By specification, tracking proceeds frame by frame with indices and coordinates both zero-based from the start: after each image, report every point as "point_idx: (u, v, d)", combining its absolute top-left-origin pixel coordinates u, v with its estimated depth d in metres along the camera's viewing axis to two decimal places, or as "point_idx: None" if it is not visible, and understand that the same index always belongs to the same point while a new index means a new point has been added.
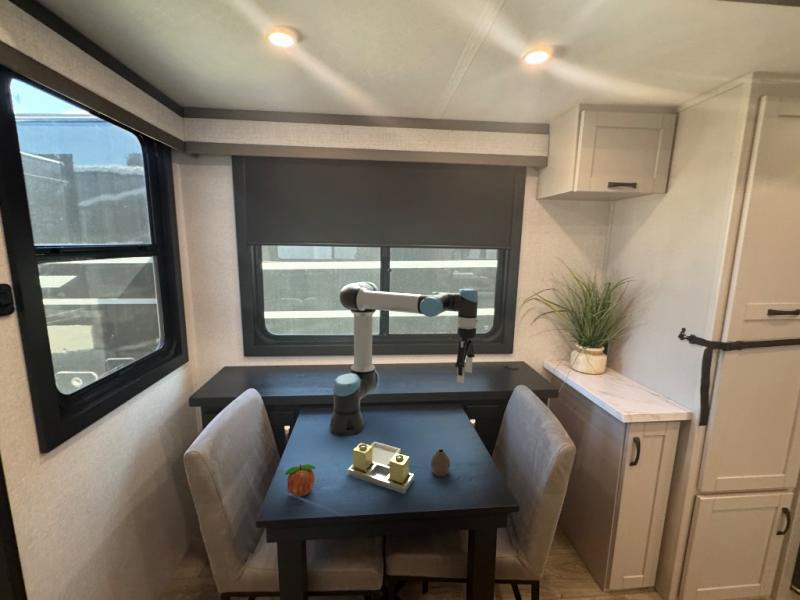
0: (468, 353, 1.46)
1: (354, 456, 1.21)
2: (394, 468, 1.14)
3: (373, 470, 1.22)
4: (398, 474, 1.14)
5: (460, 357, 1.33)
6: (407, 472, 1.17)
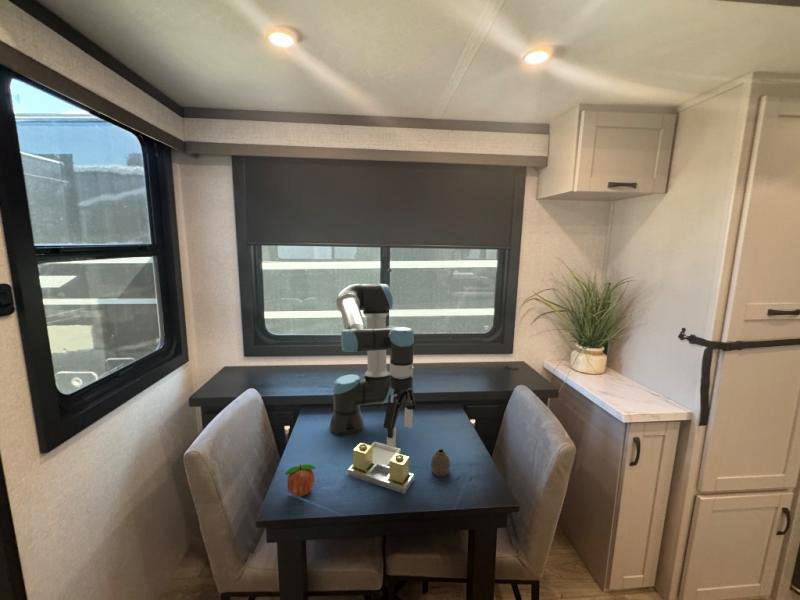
0: (407, 404, 1.19)
1: (354, 456, 1.21)
2: (394, 468, 1.14)
3: (373, 470, 1.22)
4: (398, 474, 1.14)
5: (389, 416, 1.05)
6: (407, 472, 1.17)
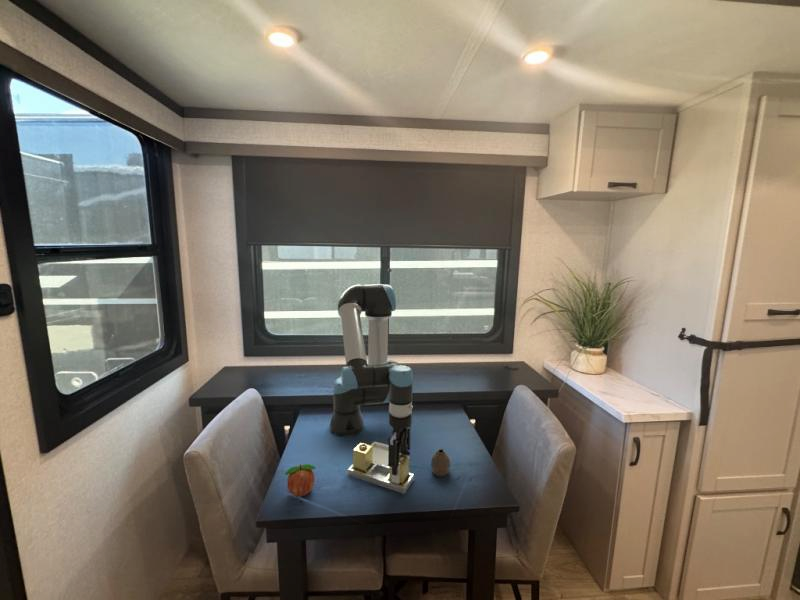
0: (402, 448, 1.18)
1: (354, 456, 1.21)
2: None
3: (373, 470, 1.22)
4: None
5: (392, 457, 1.10)
6: (407, 472, 1.17)
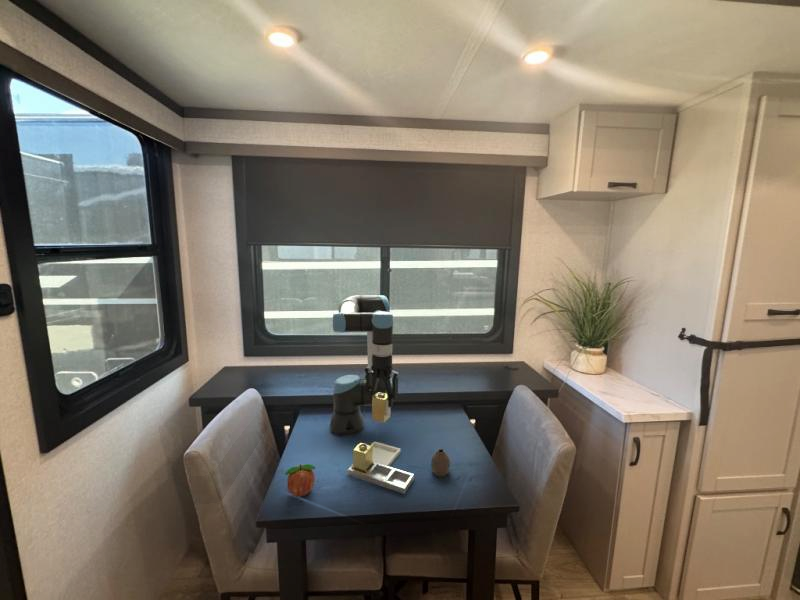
0: None
1: (354, 456, 1.21)
2: None
3: (373, 470, 1.22)
4: None
5: None
6: (381, 411, 1.27)
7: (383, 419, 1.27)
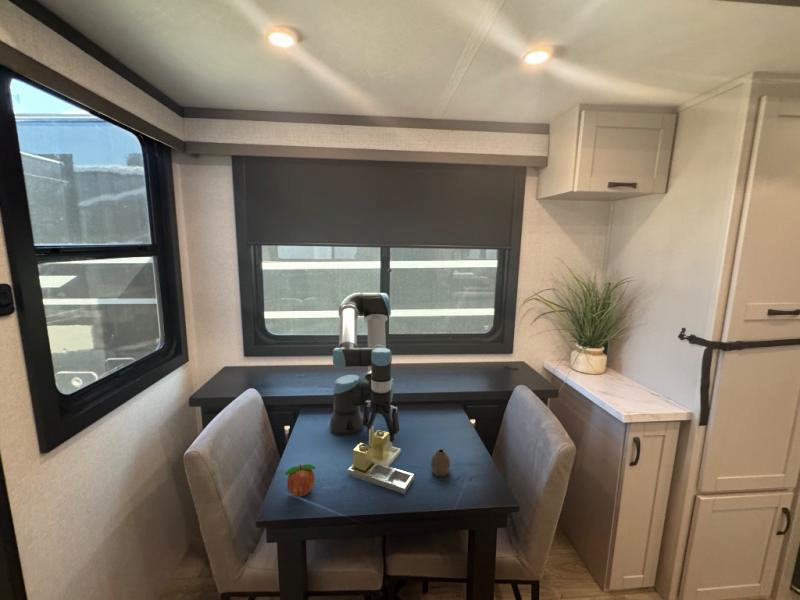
0: None
1: (354, 456, 1.21)
2: None
3: (373, 470, 1.22)
4: None
5: None
6: (380, 450, 1.29)
7: (382, 457, 1.29)
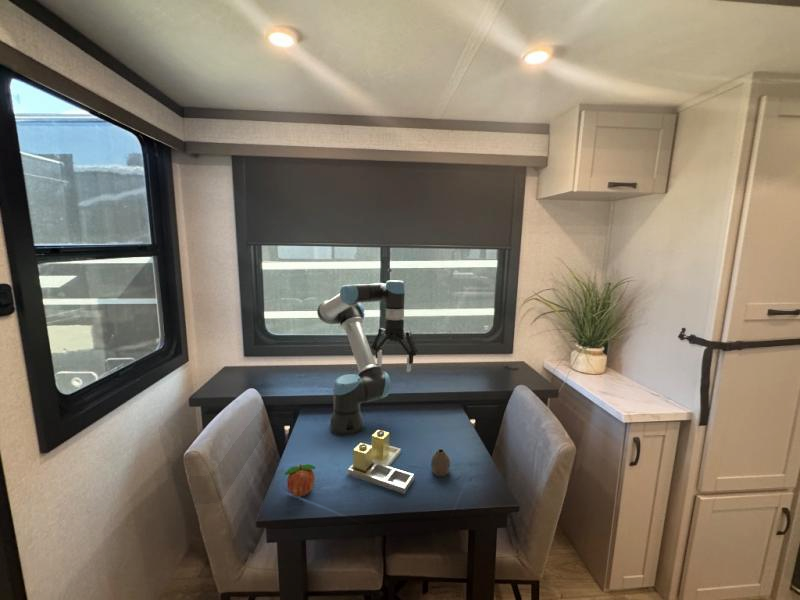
0: None
1: (354, 456, 1.21)
2: None
3: (373, 470, 1.22)
4: None
5: None
6: (380, 450, 1.29)
7: (382, 458, 1.29)
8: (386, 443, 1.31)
